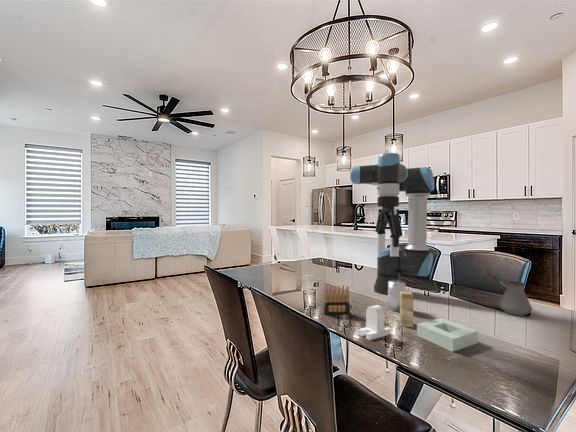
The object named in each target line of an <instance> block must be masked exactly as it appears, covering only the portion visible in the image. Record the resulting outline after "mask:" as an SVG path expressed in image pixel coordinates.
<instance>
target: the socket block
mask: <svg viewBox="0 0 576 432" xmlns="http://www.w3.org/2000/svg"><path fill="white" fill-rule="evenodd" d="M416 336H417V337H420V338H421V339H424V340H426V341H428V342H430V343H432V344H435V345H437V346H439V347H441V348H444V349H446V350H448V351H450V352H451V353H452V352H453V353H454V352H457V351H459V350H461V349H465V348H468V347H471V346H474V345H476V344H478V343H479V331H478V330H476V329H474V328H470V327H468V326H466V325H463V324H460V323H457V322H454V321H451V320H449V319H446V318H444V317H440V318H436V319H431V320H428V321H427V320H426V321H423V322H420V323H417V324H416Z"/></svg>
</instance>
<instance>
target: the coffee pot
mask: <svg viewBox="0 0 576 432" xmlns="http://www.w3.org/2000/svg"><path fill="white" fill-rule="evenodd" d="M483 273H484V275H486V274H487V276H490V277H491V278H492V279H493V280H494V281H496V282H498V283H500V284H501V285H502V286H503V287H505V288H506V289H505V291H504V293H503V294H502V296H501V297H500V298H499V300H498V303H497V305H498V307H499V308H500V310H502V311H503V310H504V311H505V312H506V313H505V312H504V311H503V312H504V313H505V314H508V313H509V315H511V314H512V316H516V315H518V316H517V317H525V316H524V315H526V316H527V315H528V314H530V313H532V311H533V307H532V305H531V303H530V300H529V299H528V296H527V295H526V293H525V290H524V286H526V283H524V282H521V281H515V280H507V281H505V283H506V284H505V283H504V282H502V281H501V280H500V279H499V278H498V277H496V276H495V275H494V274H492V273H491V272H489V271H488V270H486V269H485V270H484V271H483Z"/></svg>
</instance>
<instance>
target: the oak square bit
mask: <svg viewBox="0 0 576 432" xmlns="http://www.w3.org/2000/svg"><path fill="white" fill-rule="evenodd" d="M399 324H400V326H401V327H406V328H407V327H411V328H414V294H413V293H412V291H405V292H401V291H400V312H399Z"/></svg>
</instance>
